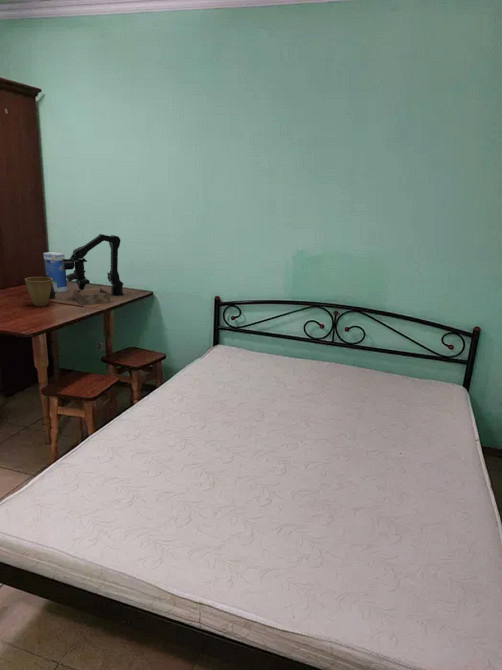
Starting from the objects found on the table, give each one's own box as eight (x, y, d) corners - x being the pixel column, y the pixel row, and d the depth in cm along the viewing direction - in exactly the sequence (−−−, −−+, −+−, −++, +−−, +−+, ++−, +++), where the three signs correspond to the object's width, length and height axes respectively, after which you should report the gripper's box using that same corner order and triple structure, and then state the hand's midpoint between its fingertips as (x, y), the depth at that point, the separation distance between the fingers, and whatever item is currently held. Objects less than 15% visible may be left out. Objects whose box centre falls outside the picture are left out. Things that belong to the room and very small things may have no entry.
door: (99, 296, 310) (99, 288, 308) (100, 297, 309) (99, 288, 307) (80, 298, 302) (80, 290, 301) (81, 298, 302) (80, 290, 300)
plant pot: (28, 308, 275) (25, 281, 270) (27, 302, 288) (24, 277, 283) (55, 306, 282) (53, 280, 277) (53, 301, 294) (50, 276, 290)
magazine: (58, 296, 299) (46, 275, 295) (40, 304, 301) (28, 283, 296) (60, 295, 303) (48, 274, 299) (42, 303, 304) (30, 282, 300)
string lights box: (67, 291, 323) (65, 253, 315) (58, 292, 317) (55, 254, 309) (55, 288, 330) (52, 251, 322) (46, 290, 323) (42, 252, 316)
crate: (101, 297, 311) (101, 288, 309) (110, 302, 298) (110, 292, 297) (74, 299, 300) (73, 290, 298) (82, 305, 288) (81, 295, 286)
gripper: (62, 267, 303) (64, 291, 307) (71, 272, 288) (72, 296, 293) (79, 266, 309) (81, 289, 314) (89, 270, 295) (90, 295, 299)
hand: (81, 292), depth 305 cm, fingers closed
